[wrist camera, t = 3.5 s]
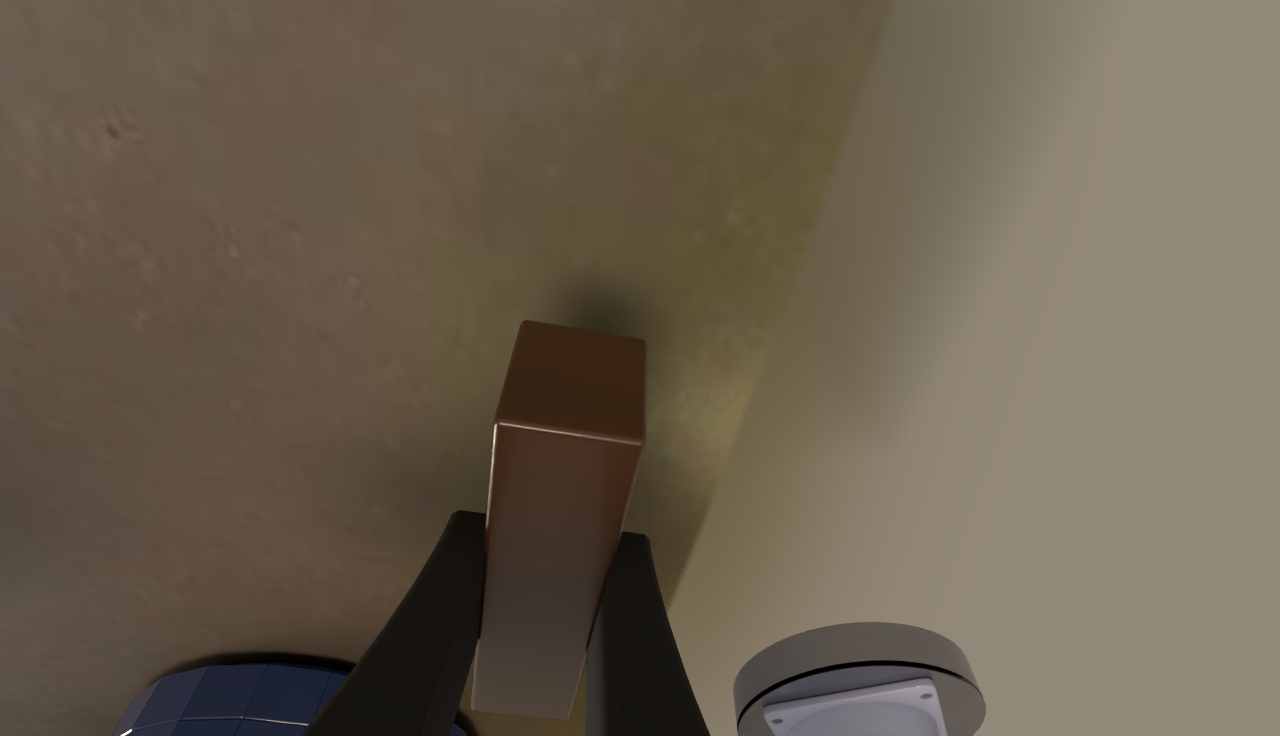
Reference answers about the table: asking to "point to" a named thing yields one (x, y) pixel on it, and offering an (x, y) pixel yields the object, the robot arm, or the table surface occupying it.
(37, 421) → the table surface
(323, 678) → the bowl
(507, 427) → the brown rectangular bar
